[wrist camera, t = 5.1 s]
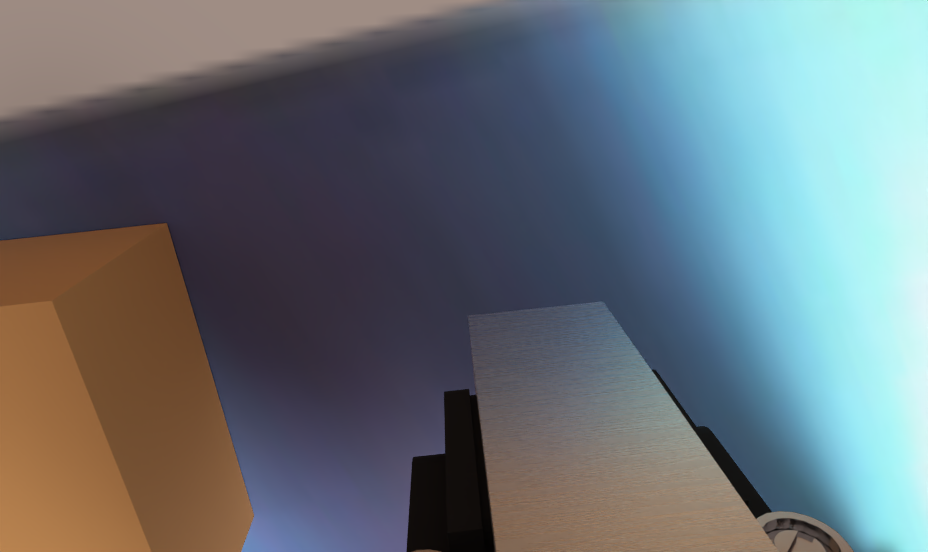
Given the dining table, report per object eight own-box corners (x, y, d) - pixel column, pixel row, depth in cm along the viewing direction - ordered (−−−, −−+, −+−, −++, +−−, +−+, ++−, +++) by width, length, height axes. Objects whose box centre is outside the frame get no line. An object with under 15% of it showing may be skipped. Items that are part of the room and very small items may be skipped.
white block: (602, 301, 13) (845, 645, 5) (604, 484, 14) (787, 941, 7) (467, 315, 13) (512, 682, 5) (485, 496, 14) (539, 969, 7)
